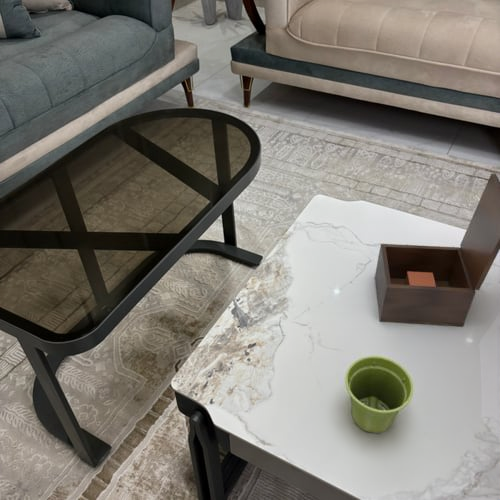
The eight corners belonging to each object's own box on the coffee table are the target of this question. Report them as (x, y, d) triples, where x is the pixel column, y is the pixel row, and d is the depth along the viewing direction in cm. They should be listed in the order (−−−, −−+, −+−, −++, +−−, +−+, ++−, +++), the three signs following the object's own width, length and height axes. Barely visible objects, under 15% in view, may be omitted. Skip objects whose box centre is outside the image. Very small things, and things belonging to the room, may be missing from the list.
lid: (511, 215, 73) (543, 219, 73) (491, 173, 82) (519, 176, 82) (474, 289, 83) (502, 293, 83) (459, 245, 92) (485, 248, 92)
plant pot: (370, 456, 71) (379, 424, 66) (327, 408, 78) (332, 375, 72) (416, 423, 75) (428, 389, 70) (372, 379, 81) (379, 345, 76)
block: (427, 290, 95) (432, 272, 92) (431, 307, 92) (437, 290, 89) (403, 288, 96) (407, 271, 93) (406, 306, 92) (410, 288, 89)
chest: (379, 321, 91) (386, 287, 85) (374, 277, 99) (380, 243, 94) (463, 326, 89) (476, 291, 83) (450, 281, 98) (461, 247, 92)
